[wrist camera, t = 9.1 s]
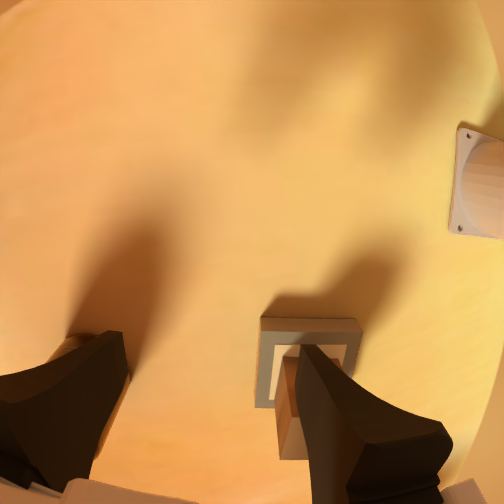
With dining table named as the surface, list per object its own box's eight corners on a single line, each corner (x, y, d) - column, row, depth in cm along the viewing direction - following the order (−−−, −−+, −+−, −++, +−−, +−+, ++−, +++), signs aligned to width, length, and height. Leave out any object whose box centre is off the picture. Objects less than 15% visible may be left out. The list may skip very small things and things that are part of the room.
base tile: (354, 318, 23) (363, 332, 21) (337, 391, 25) (343, 406, 23) (260, 316, 23) (260, 331, 21) (254, 391, 24) (254, 408, 22)
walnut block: (338, 358, 21) (361, 415, 16) (325, 399, 22) (342, 458, 17) (282, 356, 21) (291, 417, 15) (274, 398, 22) (279, 459, 16)
